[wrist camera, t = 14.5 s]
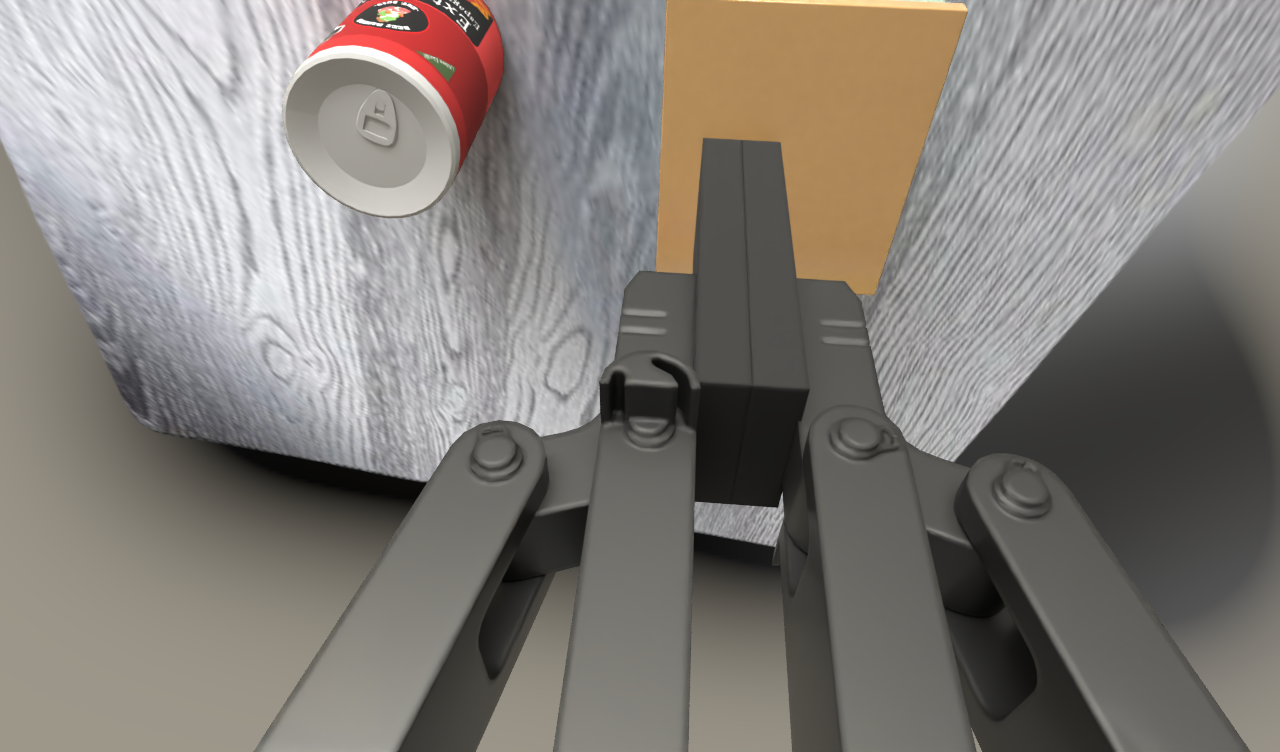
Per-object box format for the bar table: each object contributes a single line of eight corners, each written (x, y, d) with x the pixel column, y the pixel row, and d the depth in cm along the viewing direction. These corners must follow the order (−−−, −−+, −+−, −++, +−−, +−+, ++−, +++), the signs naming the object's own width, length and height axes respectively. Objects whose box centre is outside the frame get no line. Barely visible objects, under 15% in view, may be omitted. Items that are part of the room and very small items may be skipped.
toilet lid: (667, -11, 28) (666, -4, 28) (965, 2, 28) (969, 9, 27) (656, 274, 39) (655, 282, 38) (872, 287, 38) (874, 295, 38)
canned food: (509, -22, 37) (454, 69, 29) (506, 124, 42) (459, 233, 35) (357, -51, 36) (260, 34, 29) (374, 101, 42) (298, 206, 34)
